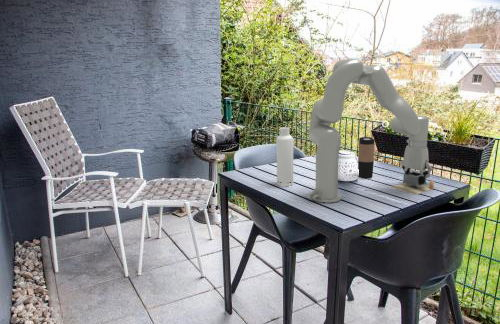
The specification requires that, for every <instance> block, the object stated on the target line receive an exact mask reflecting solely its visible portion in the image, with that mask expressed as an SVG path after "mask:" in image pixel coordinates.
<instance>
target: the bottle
mask: <svg viewBox="0 0 500 324" xmlns="http://www.w3.org/2000/svg"><path fill="white" fill-rule="evenodd" d="M290 129H291V128H290V127H288V126H287V127H283V126H282V127H279V131H280V133H279V134H278V136H277V137H276V138H275V139H276V141H275V142H276V143H275V144H276V185H277V184H278V185H280V186H279V187H281V186H290V187H292V186H291V185H293V186H294V138H293V136H292V135H291V134H290ZM279 182H281V183H279ZM290 182H291V183H290ZM278 185H277V186H278Z"/></svg>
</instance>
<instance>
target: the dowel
mask: <svg viewBox="0 0 500 324" xmlns="http://www.w3.org/2000/svg"><path fill="white" fill-rule="evenodd" d="M434 184H435V181H434V180H429V185H428V186H429V188H430V189H432V190H434V189H433V187H434Z"/></svg>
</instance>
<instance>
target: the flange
mask: <svg viewBox="0 0 500 324" xmlns="http://www.w3.org/2000/svg"><path fill="white" fill-rule="evenodd" d="M430 174H431V172H430V173H429V174H427V175H426V177H425V183H424V185H427V184H426V183H427V179H428V178H430V177H431V176H430ZM420 176H421V174H420V171H419V172H418V171H415V170H414V171H410V172H409V173H405V172H404V173H403V180H402V182H403V183H405V184H409V185H413V186H416V187H417V186H420V185H419V180H420ZM403 183H402V184H403ZM422 185H423V184H422Z"/></svg>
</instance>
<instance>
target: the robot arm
mask: <svg viewBox="0 0 500 324" xmlns="http://www.w3.org/2000/svg"><path fill="white" fill-rule="evenodd" d="M351 84H357V85H361V86H362V85H363V86H368V88H369V89H370V90H371V92H372V94H373V95H374V97H375V99H376V101H377V103H378V104H379V105H380V106H381V107H382V108H384V109H385V110H387V111H388V112H390V113H391V114H392V115H394V117H393V118H392V119H391V120H390V124H389V125H390V128H391V130H392V131H394V132H396V133H397V134H398V133H399V134H402V135H405V136H408V139H406V143H407V144H408V145H406V147H405V150H404V154H403V159H402V160H401V161H399V164H400V166H401V169H402V170H403V173H404V174H405V173H409V172H411V170H414V171H415V170H416V171H419V172H420V174H421V176H420V180H419V185H422V184H424V183H425V177H426V175H427V174H429V173H430V174H431V172H432V171H433V170H434V169H433V167H432V166H431V165H430V163H429V161H430V160H429V149H428V134H429V123H430V120H429V117H428V116H426V115H417V113H416V111H415V110H414V109H413V107H412V106H411V105H410V104H409V103H408V102H407V101H406V100H405V99H404V98H403V96H402V95H400V94H399V92H398V91H397V89H396V87H395V85H394V84H393V81H392V80H391V78H390V76H389V75H388V73H387V71H386V69H385V68H384V67H383V66H382V65H378V64H363V62H362V61H361V60H359V59H354V58H349V59H340V60H338V61H336V62H335V63H334V65H333V67H332V73H331V75H330V76H329V77H328V79H327V82H326V84H325V88H324V93H323V97H322V98H321V99H319V100H317V101H316V102H315V103H314V105H313V107H312V109H311V115H310V123H309V127H308V128H309V129H308V136H309V140H310V142H312V143H313V144H314V145H316V146H317V149H316V154H315V188H313V191H312V192H308V193H306V196H307V198H309V199H310V198H312V201H313V200H314V201H315V202H318V203H323V202H325V203H324V204H331V203H332V202H333V203H337V202H339V201H341V200H342V195H341V194H340V193H339V191H338V190H339V158H340V157H339V155H340V148H341V144H342V137H341V133H340V132H339V131H338V129H337V128H335V127H333V126H331V125H332V124H336V123H338V122H339V121H340V120H341V119H342V116H343V111H344V104H345V98H346V93H347V90H348V88H349V86H350V85H351ZM424 185H425V184H424Z"/></svg>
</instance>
